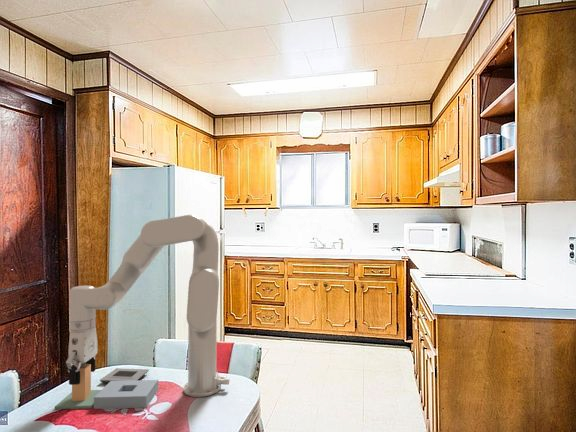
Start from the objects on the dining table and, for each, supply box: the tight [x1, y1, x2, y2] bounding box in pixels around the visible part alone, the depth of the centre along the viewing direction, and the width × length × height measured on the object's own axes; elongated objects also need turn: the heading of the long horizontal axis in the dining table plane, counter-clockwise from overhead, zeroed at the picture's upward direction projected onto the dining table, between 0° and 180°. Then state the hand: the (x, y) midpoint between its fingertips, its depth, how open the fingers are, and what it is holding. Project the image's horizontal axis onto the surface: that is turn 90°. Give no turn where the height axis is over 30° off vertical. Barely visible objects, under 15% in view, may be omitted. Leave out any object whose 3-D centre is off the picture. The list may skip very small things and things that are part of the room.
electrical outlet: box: [99, 367, 150, 383], centre depth 137 cm, size 13×10×2 cm
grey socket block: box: [93, 379, 159, 410], centre depth 121 cm, size 16×12×4 cm
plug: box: [71, 363, 92, 401], centre depth 120 cm, size 4×4×11 cm
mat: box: [54, 389, 102, 410], centre depth 120 cm, size 11×11×1 cm
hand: (82, 377), depth 120 cm, fingers open, 9 cm apart
